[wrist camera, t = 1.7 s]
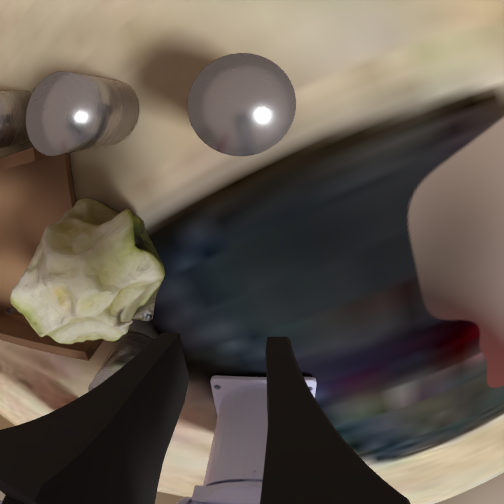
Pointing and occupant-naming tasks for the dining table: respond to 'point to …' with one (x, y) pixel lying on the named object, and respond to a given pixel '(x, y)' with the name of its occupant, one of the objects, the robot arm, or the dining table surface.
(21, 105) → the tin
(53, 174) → the tray
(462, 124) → the dining table surface
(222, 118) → the grey metal cylinder
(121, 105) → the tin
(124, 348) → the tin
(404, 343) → the dining table surface
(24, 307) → the pale green lumpy ball
